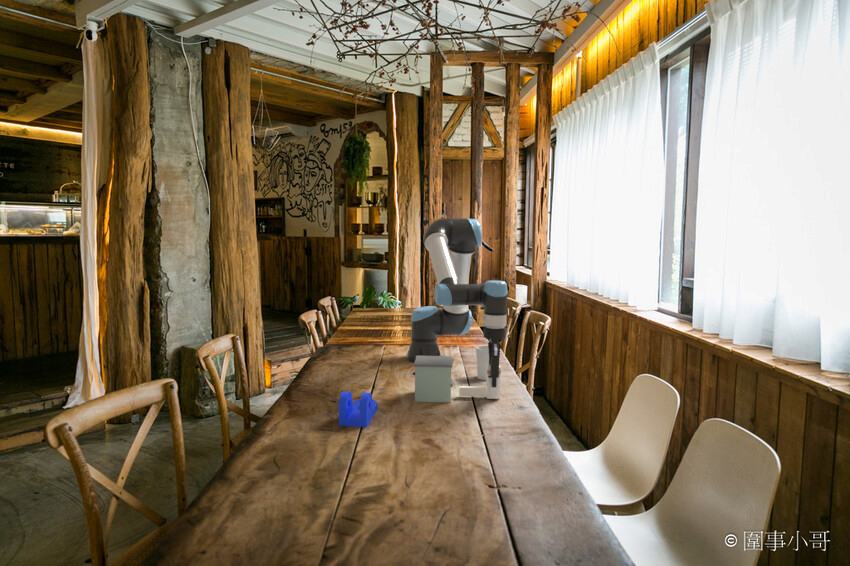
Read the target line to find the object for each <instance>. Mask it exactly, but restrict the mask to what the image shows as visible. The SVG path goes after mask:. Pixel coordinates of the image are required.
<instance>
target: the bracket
mask: <svg viewBox="0 0 850 566" xmlns="http://www.w3.org/2000/svg"><path fill="white" fill-rule="evenodd" d="M372 394H373V393H371V392H362V394H361V395H360V399H357V400H354V401H353V393H352V391H342V392H341V393H340V395H339V400H338V426H341V427H357V428H358V427H359V428H367V427H368V426H369V424H370V423H371V421H372V419H374V416H375V415H376V413H377V412H378V409H379V408H378V407H379V405H378V404H379V403H378V401H377V400H375V399H373V395H372Z"/></svg>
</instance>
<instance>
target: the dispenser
mask: <svg viewBox="0 0 850 566" xmlns="http://www.w3.org/2000/svg"><path fill="white" fill-rule="evenodd" d="M413 367H414V402H416V403H417V402H420V403H421V402H422V403H424V402H426V403H427V402H428V403H449V404H450V403H451V402H452V401H451V400H452V398H451V397H452V396H451V395H452V394H451V393H452V388H453V384H454V383H453V382H454V379H453V378H452V368H453V356H451V355H450V356H449V355H447V356H444V355H443V356H442V355H441V356H416V360H415V362H414V365H413Z"/></svg>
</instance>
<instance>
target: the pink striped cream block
mask: <svg viewBox="0 0 850 566" xmlns="http://www.w3.org/2000/svg"><path fill="white" fill-rule="evenodd" d="M501 369H502V368H501V365H500V364H499V378H498V396H489V390H490V378H488V376H490V375H491V365H487V380H485V381H486V386H476V385H474V386H473V385H459V391H458V395H459V397H472V398H473V397H477V398H478V397H479V398H486V399H488V400H500V398H501V373H502V370H501Z"/></svg>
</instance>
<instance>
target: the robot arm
mask: <svg viewBox="0 0 850 566" xmlns="http://www.w3.org/2000/svg"><path fill="white" fill-rule="evenodd" d="M482 234H483V233H482V227H481V224H480V222H479V221H478V220H477V219H475V218H468V217H465V218H464V217H463V218H462V217H461V218H459V217H458V218H457V217H455V218H454V217H451V218H447V217H440V218H438V219H436V220H433V221H432V222H431V223H430V224H429V225H428V227H427V228H426V229H425V232H424V234H423V244H424V247H425V250H427V251H428V254H429V257H430V261H431V264H432V267H433V271H434V274H435V275H434V276H435V279H436V282H437V284H436V285H435V287H434V292H433V294H434V295H433V296H434V301H435V304H436V305H438V306H442V309H439V308H438V307H437V306H435V305H427V306H420V307H416V308H414V309H412V311H411V319H410V322H411V325H410V326H411V327H410V329H411V332H410V333H411V335H410V339H411V341H410V344H409V347H408V350H407V353H406V359H407V360H408V361H410V362H414V363H415V360H416V356H442V354H441V350H440V348H439V345H438V336H460V335H461V336H462V335H466V334H468V333H469V332H470V329H471V327H472V322H473V321H472V320H473V318H472V317H473V315H472V311H471V309H469V308H470V307H469V306H483V316H482V317H481V318H482V320H483V325H484V327H483V331H482V332H483V334H482V335H483V338H484V339H486V340H489V341H488V342H487V346H488V348H489V352H488V353H489V365H491V375H490V376H488V378H490V390H489V396H498V378H499V365H500V356H501V348H502V347H501V342H499V341H500V340H504V339H506V336H507V328H506V326H507V315H508V313H507V309H508V308H507V305H508V302H507V301H508V284H507V282H506V281H504V280H495V279H494V280H486V281H485V282H478V283H469V279H470V271H471V263H472V261H471V260H472V255H474V254H475V253H476V251H477V248H479V247H480V246H481V245H482V244H483V243H482V242H483V235H482ZM450 253H451V254H450Z"/></svg>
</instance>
